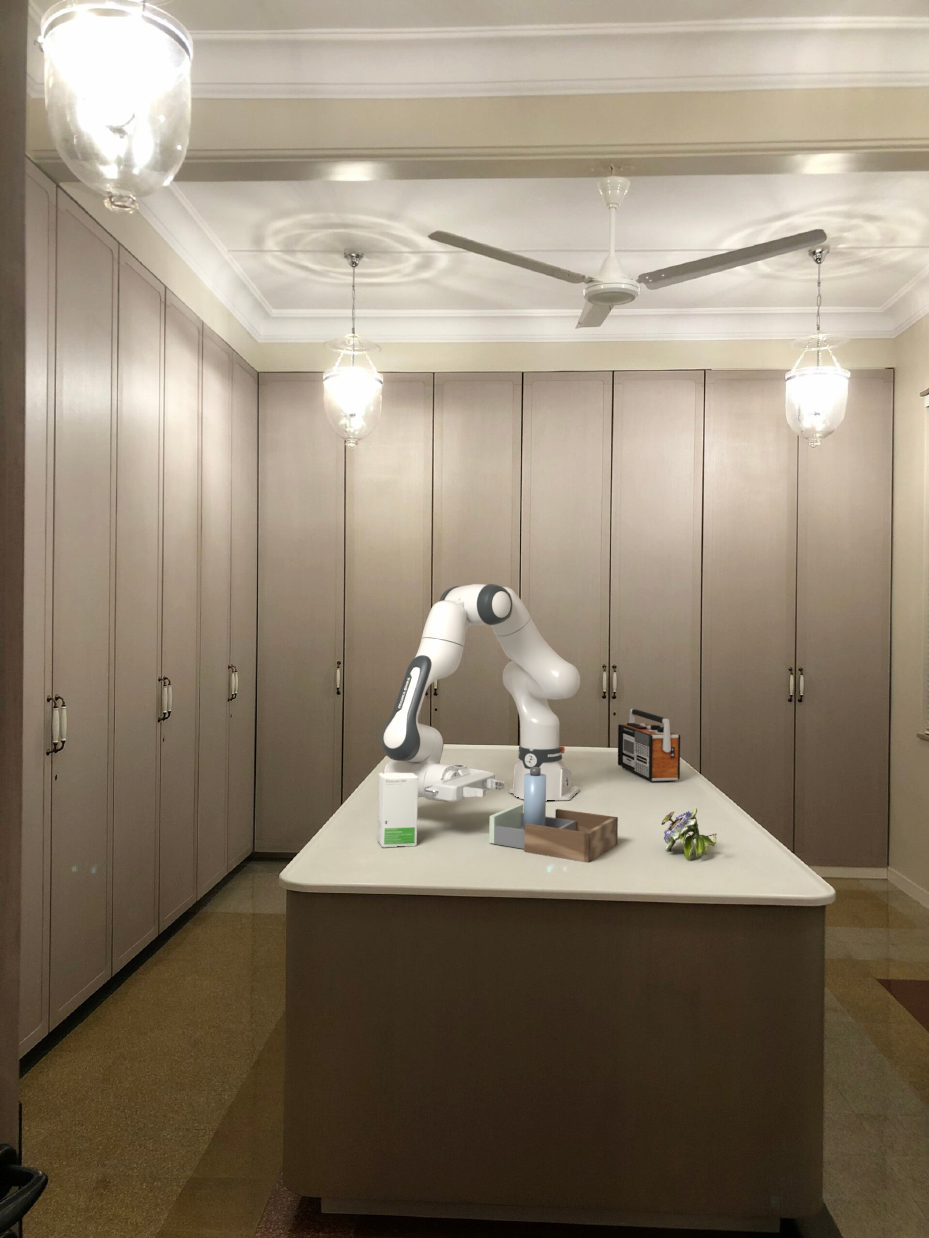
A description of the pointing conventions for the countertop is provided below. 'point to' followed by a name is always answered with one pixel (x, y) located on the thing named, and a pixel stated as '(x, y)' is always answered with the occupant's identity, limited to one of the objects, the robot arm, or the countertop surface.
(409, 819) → the skincare box
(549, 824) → the drawer
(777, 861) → the countertop surface
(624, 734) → the radio cassette player
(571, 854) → the brown open box
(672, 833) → the passion flower
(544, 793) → the lotion bottle
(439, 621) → the robot arm
